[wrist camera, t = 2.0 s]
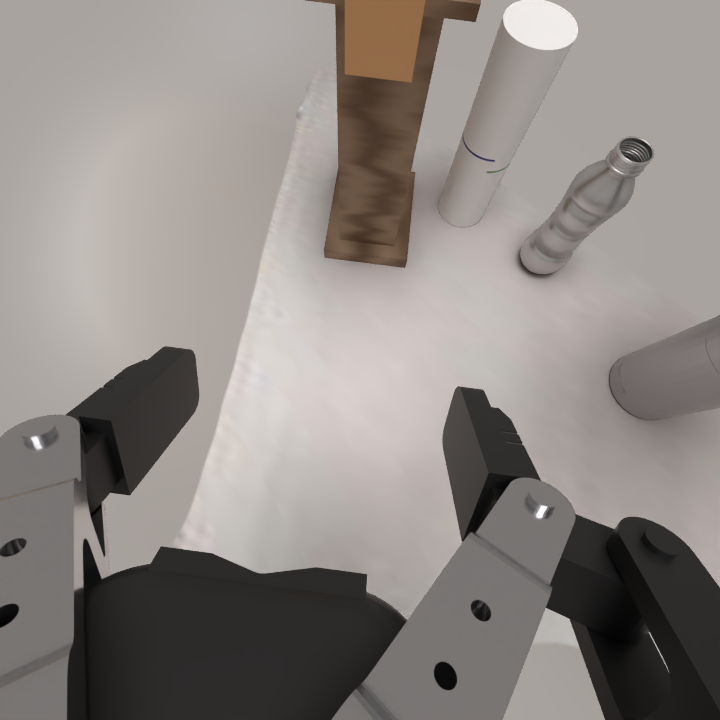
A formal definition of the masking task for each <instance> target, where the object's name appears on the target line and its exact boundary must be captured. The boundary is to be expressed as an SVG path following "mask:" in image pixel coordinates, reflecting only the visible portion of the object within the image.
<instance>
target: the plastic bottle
mask: <svg viewBox="0 0 720 720" xmlns="http://www.w3.org/2000/svg"><path fill="white" fill-rule="evenodd" d="M653 157H654V150H653V148H652V146H651V145H650V144H649V143H648V142H647V141H645V140H643V139H641V138H638V137H626V138H623V139H622V140H621V141H620V142H619V143H618V144H617V146H615V148H614V149H613V150H611V151H610V152H609V154H608V155H607V156H606V159H605V160H601V161H599V162H596V163H594V164H591V165H589V166H587V167H586V168H585V169H583V170H582V171H580V172H579V173H578V174H577V175H576V177H575V178H574V180H573V181H572V183H571V185H570V187H569V188H568V190H567V192H566V194H565V196H564V197H563V199H562V201H561V202H560V203H559V205H558V206H557V208H556V209H555V211H554V212H553V213H552V215H551V216H550V217H549V218H548V219H547V220H546V221H545V222H544V223H543V224H542V225H541V226H540V228H538V229H537V230H536V231H534V232H533V233H532V234H531V235H530V236H529V237H528V238H527V239H526V240H525V242H524V244H523V246H522V248H521V251H520V256H521V261H522V263H523V265H524V266H525V267H526V268H527V269H528V270H529V271H531V272H533V273H536V274H550V273H553V272H555V271H556V270H558V269H560V268H561V267H563V266H564V265H565V264H566V262H567V261H568V260H569V258H570V257H571V255H572V253H573V252H574V250H575V249H576V248H577V247H578V246H579V245H580V243H581V242H582V241H583V240H584V239H585V238H586V237H587V236H588V235H589V234H590V233H592V232H593V231H594V230H595V229H596V228H597V227H598V226H599V225H601V224H602V223H604V222H605V221H606V220H608V219H609V218H610V217H612V216H613V215H615V214H616V213H617V212H619V211H620V210H621V209H622V208H624V207H625V206H626V205H627V203H628V202H629V200H630V198H631V196H632V194H633V192H634V186H635V177H637V176H638V175H639V174H640V173H641V172H642V171H643V170H644V168H645V167H646V165H647V164H649V162H650V161H651V160H652V159H653Z"/></svg>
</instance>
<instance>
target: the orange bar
mask: <svg viewBox="0 0 720 720" xmlns="http://www.w3.org/2000/svg"><path fill="white" fill-rule="evenodd" d="M424 6H425V0H345V74H348V75H355V76H363V77H371V78H379V79H387V80H395V81H403V82H410V83H412V77H413V71H414V65H415V59H416V53H417V47H418V42H419V36H420V30H421V24H422V18H423V12H424Z"/></svg>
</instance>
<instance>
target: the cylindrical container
mask: <svg viewBox="0 0 720 720" xmlns="http://www.w3.org/2000/svg"><path fill="white" fill-rule="evenodd" d="M577 34H578V26H577V23H576V21H575V19H574V18H573V16H572V15H571V14H570V13H569V12H568V11H566V10H565V9H564V8H562V7H560V6H559V5H556V4H554V3H552V2H549V1H545V0H521V1H517V2H515V3H513V4H511V5H510V6H509V7H508V8H507V9H506V11H505V12H504V15H503V18H502V21H501V24H500V27H499V30H498V33H497V36H496V39H495V41H494V44H493V47H492V50H491V53H490V56H489V59H488V62H487V65H486V68H485V71H484V73H483V77H482V79H481V82H480V85H479V88H478V91H477V94H476V97H475V100H474V102H473V105H472V109H471V111H470V114H469V117H468V120H467V123H466V126H465V129H464V131H463V134H462V137H461V140H460V143H459V146H458V149H457V152H456V155H455V158H454V161H453V164H452V166H451V169H450V172H449V175H448V178H447V181H446V184H445V187H444V190H443V193H442V195H441V198H440V201H439V206H438V208H439V212H440V215H441V216H442V218H443V219H444V220H445V221H446V222H448V223H449V224H451V225H453V226H457V227H470V226H472V225H475V224H476V223H478V221H479V220H480V219H481V217H482V215H483V213H484V212H485V210H486V208H487V206H488V204H489V202H490V200H491V198H492V196H493V194H494V193H495V191H496V189H497V187H498V185H499V183H500V181H501V179H502V177H503V176H504V174H505V172H506V170H507V168H508V166H509V164H510V162H511V160H512V158H513V157H514V155H515V153H516V151H517V149H518V147H519V145H520V143H521V141H522V139H523V138H524V136H525V134H526V132H527V130H528V128H529V126H530V124H531V122H532V120H533V119H534V117H535V115H536V113H537V111H538V109H539V107H540V105H541V103H542V101H543V100H544V98H545V96H546V94H547V92H548V90H549V88H550V86H551V84H552V82H553V81H554V79H555V77H556V75H557V73H558V71H559V69H560V67H561V65H562V63H563V62H564V60H565V58H566V56H567V54H568V52H569V50H570V48H571V46H572V44H573V42H574V40H575V39H576V37H577Z"/></svg>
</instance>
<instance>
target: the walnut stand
mask: <svg viewBox="0 0 720 720" xmlns="http://www.w3.org/2000/svg"><path fill="white" fill-rule="evenodd" d="M307 1H315V2H323V3H331V4H335V7H336V61H337V113H338V165H339V167H338V173H337V179H336V185H335V190H334V196H333V202H332V208H331V213H330V219H329V225H328V231H327V236H326V242H325V248H324V252H325V257H326V258H333V259H341V260H349V261H357V262H365V263H373V264H381V265H389V266H397V267H405V265H406V262H407V254H408V243H409V232H410V221H411V211H412V200H413V189H414V178H415V172H411V168H412V163H413V158H414V154H415V149H416V144H417V140H418V135H419V131H420V126H421V121H422V117H423V112H424V107H425V103H426V98H427V93H428V89H429V84H430V79H431V75H432V71H433V65H434V61H435V56H436V52H437V47H438V43H439V38H440V34H441V29H442V24H443V20H444V18H448V19H456V20H464V21H472V22H476V18H477V15H478V11H479V7H480V4H481V3H480V2H481V0H425V6H424V12H423V18H422V24H421V30H420V36H419V42H418V47H417V53H416V59H415V65H414V71H413V77H412V83H410V82H403V81H395V80H387V79H379V78H371V77H363V76H355V75H348V74H345V0H307Z"/></svg>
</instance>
